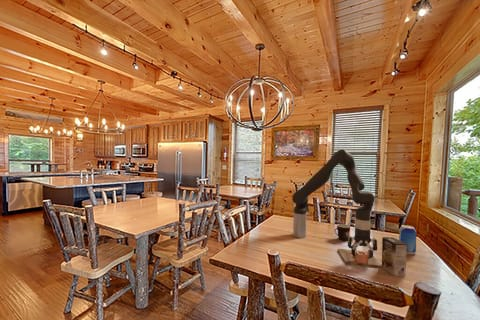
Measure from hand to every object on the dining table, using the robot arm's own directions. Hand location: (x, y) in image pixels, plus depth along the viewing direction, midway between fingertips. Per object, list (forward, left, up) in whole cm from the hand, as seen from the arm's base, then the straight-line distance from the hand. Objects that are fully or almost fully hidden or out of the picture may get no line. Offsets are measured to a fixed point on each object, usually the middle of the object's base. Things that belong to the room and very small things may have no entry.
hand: (361, 256), depth 118 cm
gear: (0, 0, -3) cm, 3 cm away
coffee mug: (-2, +36, -4) cm, 36 cm away
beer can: (+34, +24, -4) cm, 42 cm away
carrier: (0, +6, -4) cm, 7 cm away
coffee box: (+13, -5, -4) cm, 15 cm away
